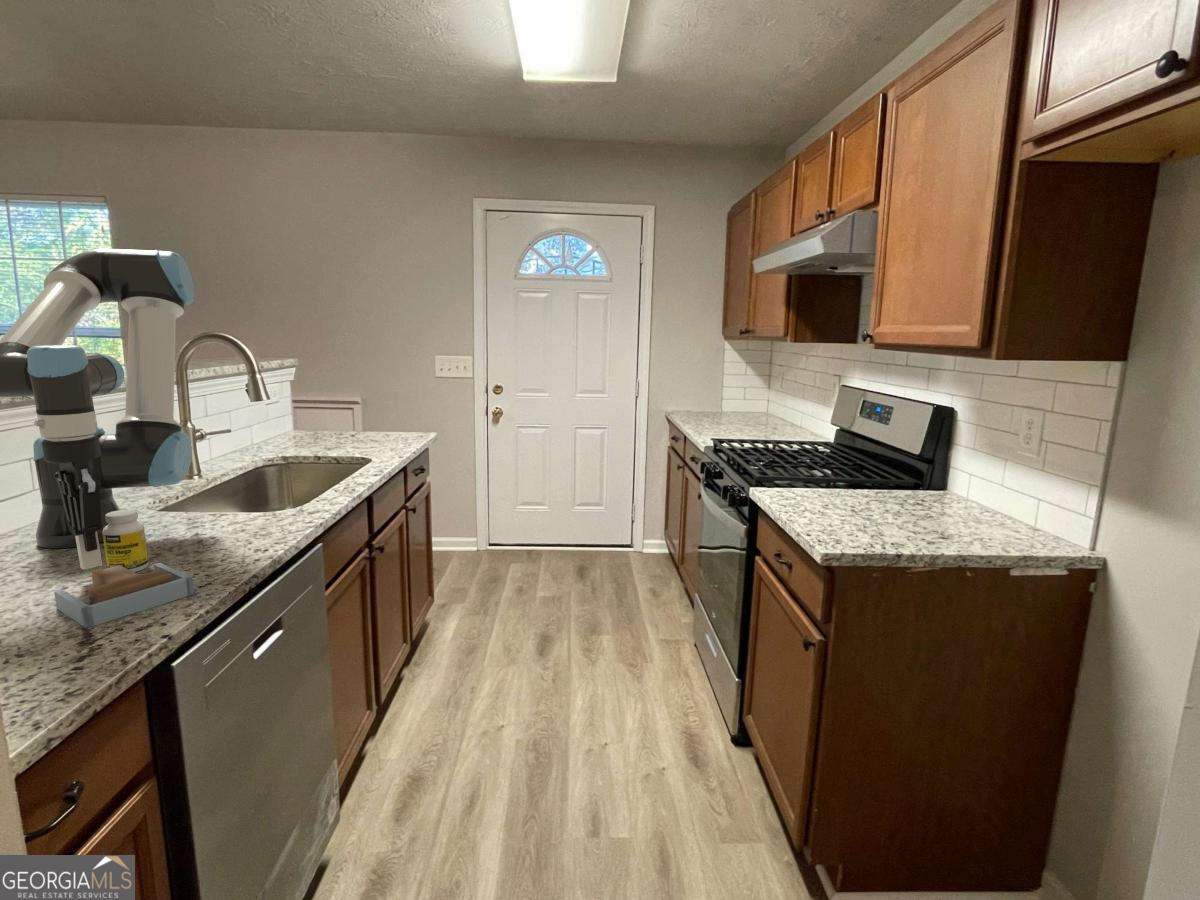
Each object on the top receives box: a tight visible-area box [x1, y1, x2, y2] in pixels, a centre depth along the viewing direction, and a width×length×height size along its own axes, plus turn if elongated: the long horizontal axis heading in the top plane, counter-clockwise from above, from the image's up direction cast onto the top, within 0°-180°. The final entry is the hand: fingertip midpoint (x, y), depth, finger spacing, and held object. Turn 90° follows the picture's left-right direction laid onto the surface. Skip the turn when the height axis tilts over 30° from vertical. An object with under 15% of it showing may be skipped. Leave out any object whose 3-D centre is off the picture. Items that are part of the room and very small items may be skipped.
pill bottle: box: [103, 509, 149, 573], centre depth 115 cm, size 6×6×11 cm
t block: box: [87, 565, 171, 605], centre depth 103 cm, size 12×10×4 cm
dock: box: [53, 562, 195, 629], centre depth 102 cm, size 12×15×3 cm
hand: (91, 566), depth 110 cm, fingers closed
